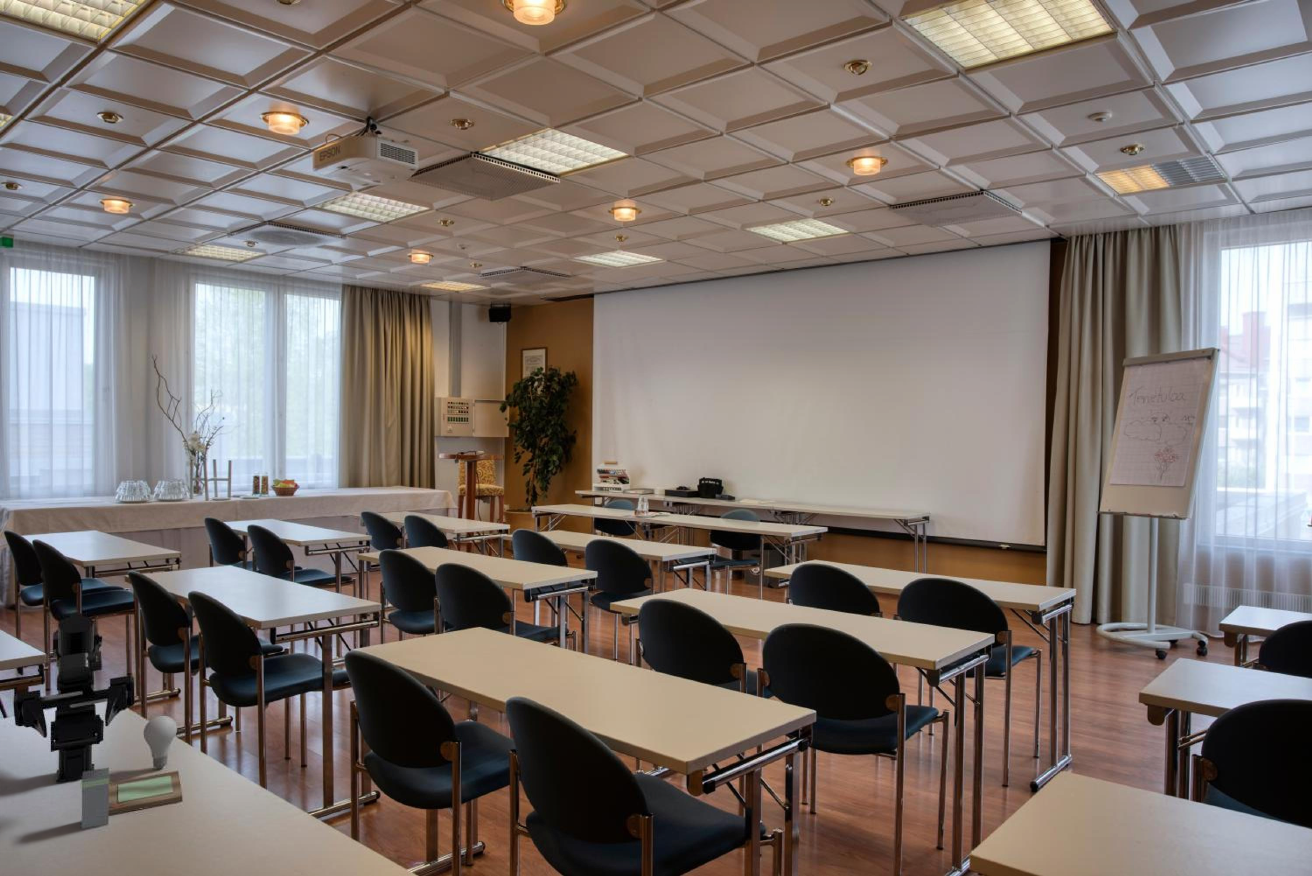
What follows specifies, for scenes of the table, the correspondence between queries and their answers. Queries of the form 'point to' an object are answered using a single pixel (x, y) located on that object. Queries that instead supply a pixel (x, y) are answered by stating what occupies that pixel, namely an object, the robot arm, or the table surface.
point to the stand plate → (144, 792)
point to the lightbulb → (160, 738)
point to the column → (95, 798)
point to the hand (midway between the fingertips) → (76, 730)
